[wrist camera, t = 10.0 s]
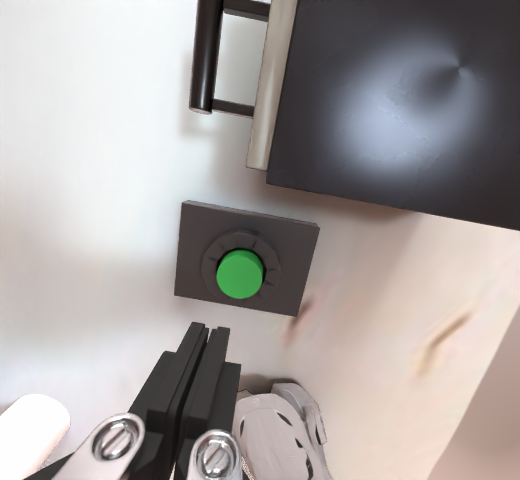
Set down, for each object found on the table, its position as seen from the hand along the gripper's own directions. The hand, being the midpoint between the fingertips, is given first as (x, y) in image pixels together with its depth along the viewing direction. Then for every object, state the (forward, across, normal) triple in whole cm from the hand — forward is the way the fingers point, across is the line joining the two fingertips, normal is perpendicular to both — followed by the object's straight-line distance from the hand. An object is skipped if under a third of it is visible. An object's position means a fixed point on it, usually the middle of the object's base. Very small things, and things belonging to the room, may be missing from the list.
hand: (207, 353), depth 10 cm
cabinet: (+13, -8, -14) cm, 21 cm away
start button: (+10, 0, 0) cm, 10 cm away
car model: (+14, -9, +24) cm, 29 cm away
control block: (+13, 0, 0) cm, 13 cm away
